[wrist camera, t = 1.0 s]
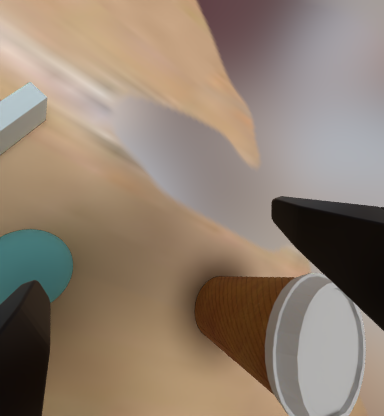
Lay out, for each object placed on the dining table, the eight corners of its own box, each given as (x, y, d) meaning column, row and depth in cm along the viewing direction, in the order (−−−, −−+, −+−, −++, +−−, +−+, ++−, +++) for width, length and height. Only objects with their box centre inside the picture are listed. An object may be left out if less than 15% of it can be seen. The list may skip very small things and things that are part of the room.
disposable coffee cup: (162, 326, 22) (269, 401, 12) (212, 243, 26) (323, 246, 16) (225, 371, 25) (350, 461, 15) (260, 291, 29) (377, 319, 19)
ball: (33, 316, 16) (32, 342, 12) (-40, 277, 15) (-71, 293, 10) (83, 256, 19) (96, 261, 14) (24, 216, 17) (20, 208, 13)
